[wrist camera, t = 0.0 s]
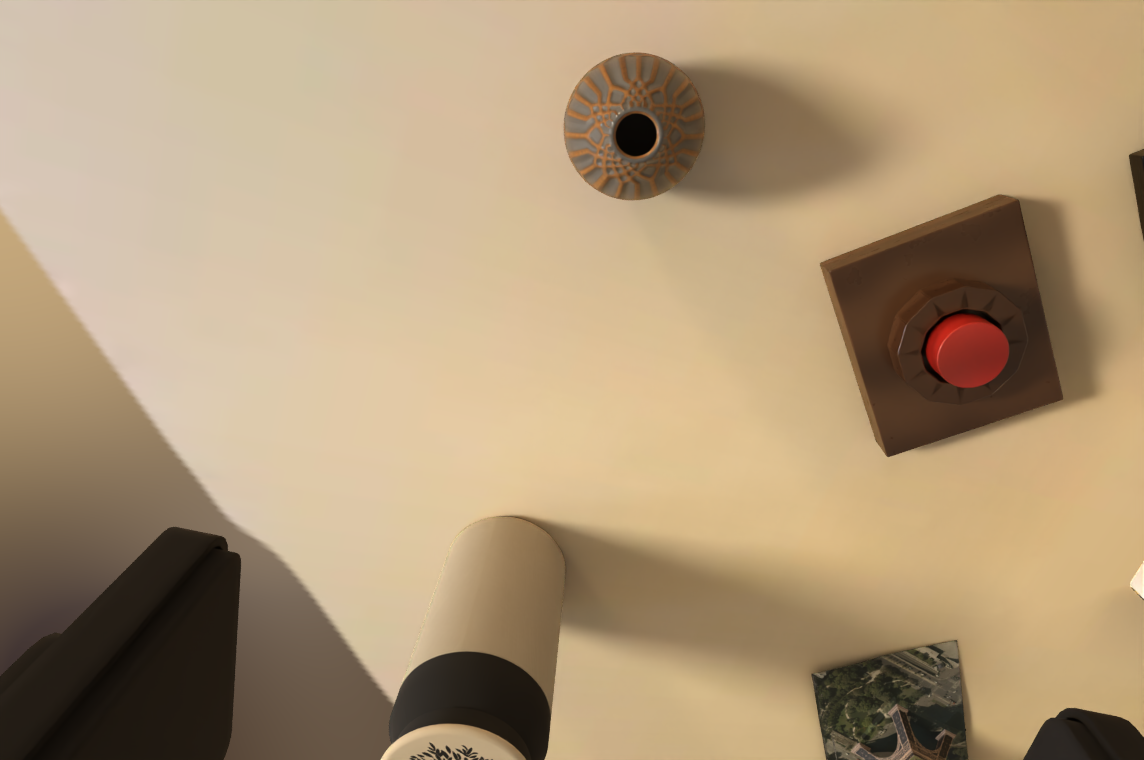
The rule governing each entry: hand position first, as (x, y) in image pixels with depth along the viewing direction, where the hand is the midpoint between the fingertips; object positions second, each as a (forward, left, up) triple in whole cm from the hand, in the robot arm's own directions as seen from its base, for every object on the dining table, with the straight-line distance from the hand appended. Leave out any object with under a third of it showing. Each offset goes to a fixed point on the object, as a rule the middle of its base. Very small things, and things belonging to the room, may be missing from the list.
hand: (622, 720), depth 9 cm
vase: (-4, +2, -38) cm, 38 cm away
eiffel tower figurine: (+42, +4, -38) cm, 57 cm away
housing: (+13, +14, -37) cm, 42 cm away
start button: (+13, +14, -34) cm, 39 cm away
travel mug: (+19, -16, -38) cm, 45 cm away
